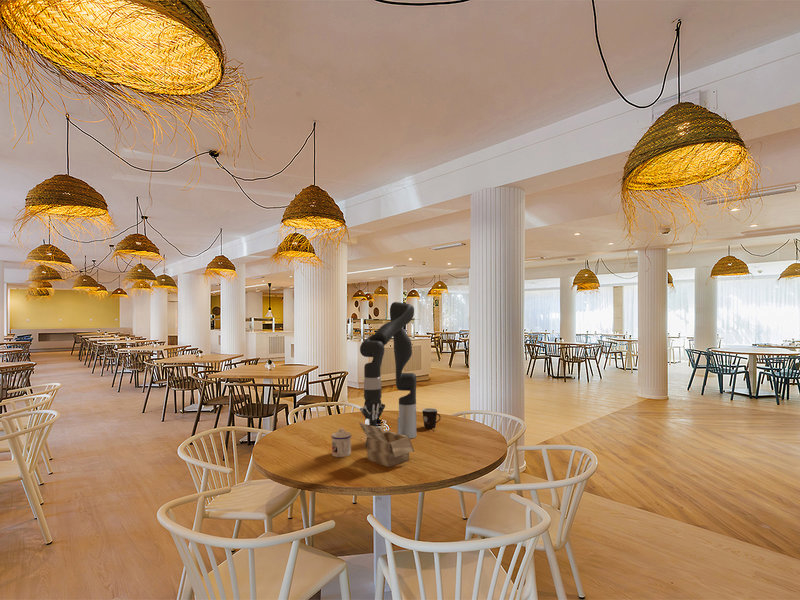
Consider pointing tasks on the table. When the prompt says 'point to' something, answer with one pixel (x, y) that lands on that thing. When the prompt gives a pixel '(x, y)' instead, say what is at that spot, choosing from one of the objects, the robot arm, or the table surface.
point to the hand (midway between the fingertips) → (373, 428)
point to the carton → (389, 449)
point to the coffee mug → (430, 417)
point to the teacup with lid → (341, 443)
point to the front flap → (373, 432)
